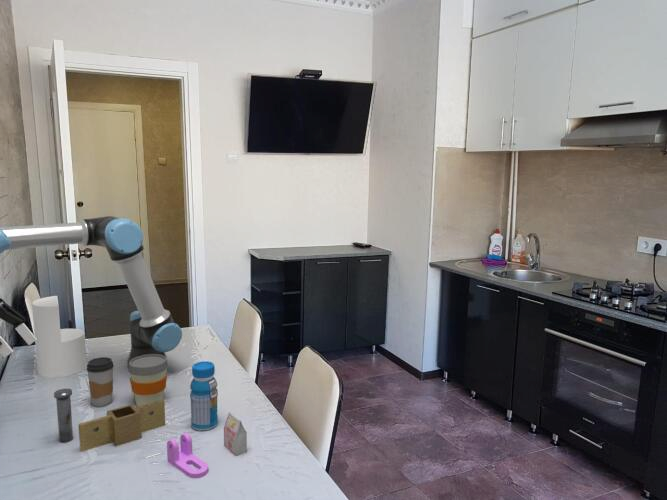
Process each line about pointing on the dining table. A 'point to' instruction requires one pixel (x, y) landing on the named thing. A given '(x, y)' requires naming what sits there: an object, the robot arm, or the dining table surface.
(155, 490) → the dining table surface
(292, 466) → the dining table surface
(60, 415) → the hinge pin
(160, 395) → the reusable coffee cup
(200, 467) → the bracket
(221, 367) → the dining table surface
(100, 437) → the tan plate
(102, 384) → the coffee cup
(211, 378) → the beverage bottle
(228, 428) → the small gable-top carton
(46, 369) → the white stepped cylinder block
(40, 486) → the dining table surface
